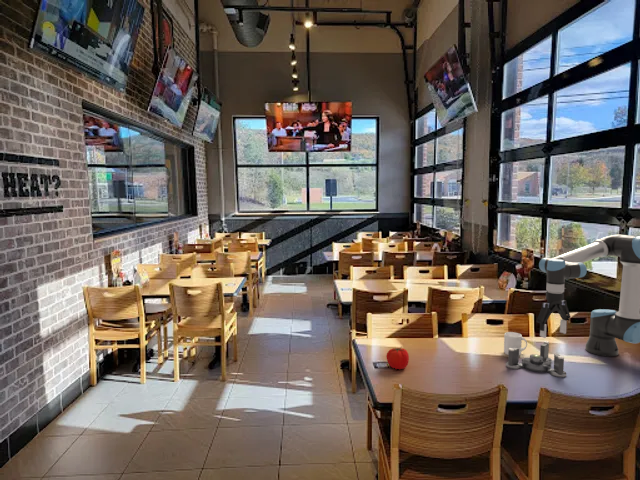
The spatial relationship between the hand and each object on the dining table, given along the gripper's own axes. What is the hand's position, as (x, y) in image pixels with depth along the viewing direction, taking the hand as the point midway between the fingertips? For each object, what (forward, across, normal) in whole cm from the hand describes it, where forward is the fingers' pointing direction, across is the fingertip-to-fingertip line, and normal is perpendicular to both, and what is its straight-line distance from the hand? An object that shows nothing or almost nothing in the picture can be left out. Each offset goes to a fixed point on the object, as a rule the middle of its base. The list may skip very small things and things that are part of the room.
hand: (553, 335), depth 209 cm
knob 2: (+17, -9, -11) cm, 23 cm away
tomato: (+19, +64, -37) cm, 76 cm away
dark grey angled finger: (+17, +11, -13) cm, 24 cm away
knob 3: (+17, -1, +3) cm, 18 cm away
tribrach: (+19, +3, -9) cm, 21 cm away
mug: (+19, -4, -25) cm, 32 cm away
